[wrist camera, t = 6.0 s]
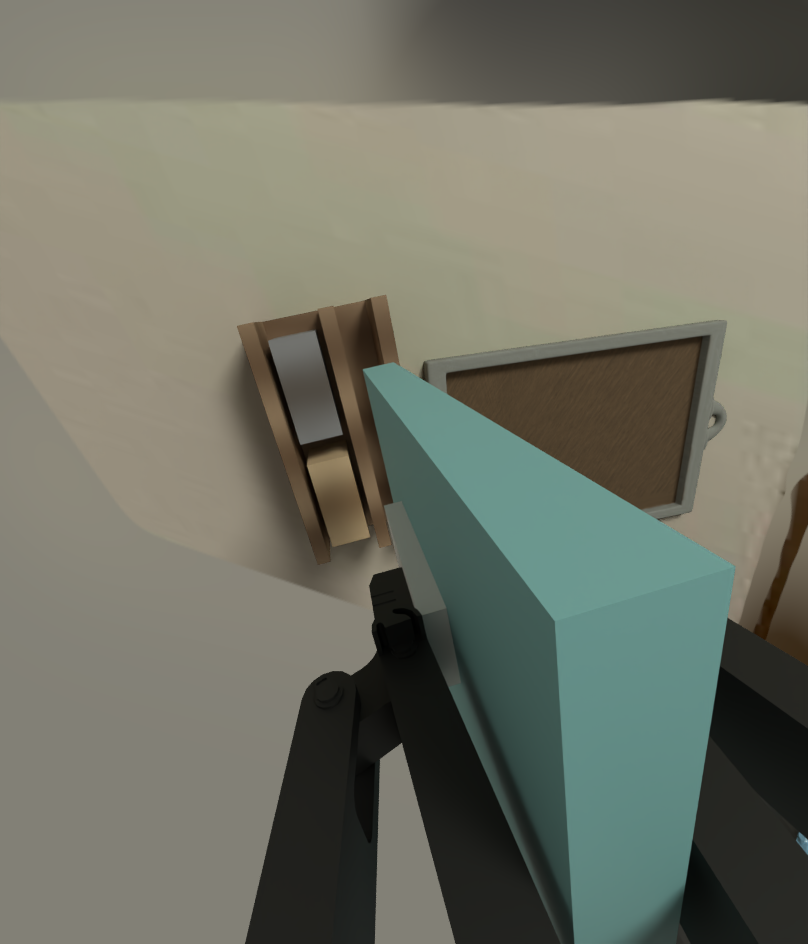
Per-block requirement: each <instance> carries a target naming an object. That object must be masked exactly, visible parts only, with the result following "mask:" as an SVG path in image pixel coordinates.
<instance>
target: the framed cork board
mask: <svg viewBox="0 0 808 944" xmlns="http://www.w3.org/2000/svg"><path fill="white" fill-rule="evenodd" d="M726 326H727V321H725V320H714V321H706V322H699V323H692V324H684V325H677V326H670V327H663V328H656V329H648V330H641V331H634V332H627V333H620V334H612V335H605V336H598V337H591V338H584V339H576V340H569V341H562V342H555V343H548V344H540V345H533V346H526V347H519V348H512V349H504V350H497V351H490V352H483V353H476V354H468V355H461V356H454V357H447V358H440V359H433V360H427V361H424V376H425V381H426V382H427V383H429V384H431V385H433V386H434V387H436V388H438V389H439V390H441V391H443V392H444V393H446V394H448V395H449V396H451V397H453V398H454V399H456V400H458V401H459V402H461V403H463V404H464V405H466V406H468V407H469V408H471V409H473V410H474V411H476V412H478V413H479V414H481V415H483V416H484V417H486V418H488V419H489V420H491V421H493V422H494V423H496V424H498V425H499V426H501V427H503V428H505V429H506V430H508V431H510V432H511V433H513V434H515V435H516V436H518V437H520V438H521V439H523V440H525V441H526V442H528V443H530V444H531V445H533V446H535V447H536V448H538V449H540V450H541V451H543V452H545V453H546V454H548V455H550V456H551V457H553V458H555V459H556V460H558V461H560V462H561V463H563V464H565V465H566V466H568V467H570V468H571V469H573V470H575V471H577V472H578V473H580V474H582V475H583V476H585V477H587V478H588V479H590V480H592V481H593V482H595V483H597V484H598V485H600V486H602V487H603V488H605V489H607V490H608V491H610V492H612V493H613V494H615V495H617V496H618V497H620V498H622V499H623V500H625V501H627V502H628V503H630V504H632V505H633V506H635V507H637V508H638V509H640V510H642V511H643V512H645V513H647V514H648V515H650V516H652V517H654V518H655V519H661V518H665V517H670V516H675V515H680V514H684V513H689V512H691V511H692V509H693V503H694V498H695V493H696V487H697V482H698V477H699V471H700V466H701V461H702V455H703V450H704V449H705V447H706V445H707V442H708V441H709V440H711V439H712V438H713V437H715V436H716V435H717V434H718V433H719V432H720V431H721V429H722V428H723V427H724V425H725V423H726V418H727V415H726V411H725V409H724V407H723V406H722V405H721V404H720V403H718V402H716V401H714V398H713V396H714V391H715V385H716V380H717V375H718V369H719V364H720V359H721V353H722V348H723V342H724V337H725V332H726ZM712 415H716V422H715V424H714V425H713V426H712V427H710V428H708V423H709V420H710V418H711V416H712Z"/></svg>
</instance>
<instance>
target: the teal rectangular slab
mask: <svg viewBox="0 0 808 944" xmlns="http://www.w3.org/2000/svg"><path fill="white" fill-rule="evenodd" d="M363 374H364V378H365V382H366V386H367V391H368V395H369V399H370V404H371V408H372V412H373V417H374V421H375V425H376V430H377V434H378V438H379V443H380V447H381V451H382V456H383V460H384V464H385V469H386V473H387V477H388V482H389V486H390V490H391V495H392V499H393V503H396V502H400V501H402V503H403V506H404V508H405V510H406V513H407V515H408V518H409V520H410V522H411V525H412V527H413V530H414V532H415V534H416V537H417V539H418V541H419V544H420V546H421V549H422V551H423V553H424V556H425V558H426V561H427V563H428V565H429V568H430V570H431V572H432V575H433V577H434V580H435V582H436V584H437V587H438V589H439V592H440V594H441V596H442V599H443V601H444V603H445V606H446V608H447V613H448V619H449V624H450V629H451V634H452V639H453V644H454V649H455V654H456V660H457V665H458V670H459V675H460V680H461V683H459V684H456V685H453V686H450V687H449V690H450V692H451V694H452V696H453V699H454V701H455V703H456V705H457V708H458V710H459V712H460V715H461V717H462V719H463V721H464V724H465V726H466V728H467V731H468V733H469V735H470V737H471V740H472V742H473V744H474V747H475V749H476V751H477V753H478V756H479V758H480V760H481V763H482V765H483V767H484V769H485V772H486V774H487V776H488V779H489V781H490V783H491V785H492V788H493V790H494V792H495V795H496V797H497V799H498V801H499V804H500V806H501V808H502V810H503V813H504V815H505V817H506V820H507V822H508V824H509V826H510V829H511V831H512V833H513V836H514V838H515V840H516V842H517V845H518V847H519V849H520V852H521V854H522V856H523V858H524V861H525V863H526V865H527V868H528V870H529V872H530V874H531V877H532V879H533V881H534V884H535V886H536V888H537V890H538V893H539V895H540V897H541V900H542V902H543V904H544V906H545V909H546V911H547V913H548V916H549V918H550V920H551V922H552V925H553V927H554V929H555V931H556V934H557V936H558V938H559V941H560V943H561V944H676V940H677V934H678V928H679V921H680V915H681V909H682V902H683V896H684V890H685V883H686V877H687V871H688V864H689V858H690V852H691V845H692V839H693V833H694V826H695V820H696V814H697V807H698V801H699V795H700V788H701V782H702V775H703V769H704V763H705V756H706V750H707V744H708V737H709V731H710V725H711V718H712V712H713V706H714V699H715V693H716V687H717V680H718V674H719V668H720V661H721V655H722V649H723V642H724V636H725V630H726V623H727V617H728V611H729V604H730V598H731V592H732V585H733V579H734V573H735V566H734V565H732V564H731V563H729V562H727V561H726V560H724V559H722V558H720V557H719V556H717V555H715V554H714V553H712V552H710V551H709V550H707V549H705V548H704V547H702V546H700V545H699V544H697V543H695V542H694V541H692V540H690V539H689V538H687V537H685V536H684V535H682V534H680V533H679V532H677V531H675V530H674V529H672V528H670V527H669V526H667V525H665V524H664V523H662V522H660V521H659V520H657V519H655V518H654V517H652V516H650V515H648V514H647V513H645V512H643V511H642V510H640V509H638V508H637V507H635V506H633V505H632V504H630V503H628V502H627V501H625V500H623V499H622V498H620V497H618V496H617V495H615V494H613V493H612V492H610V491H608V490H607V489H605V488H603V487H602V486H600V485H598V484H597V483H595V482H593V481H592V480H590V479H588V478H587V477H585V476H583V475H582V474H580V473H578V472H577V471H575V470H573V469H571V468H570V467H568V466H566V465H565V464H563V463H561V462H560V461H558V460H556V459H555V458H553V457H551V456H550V455H548V454H546V453H545V452H543V451H541V450H540V449H538V448H536V447H535V446H533V445H531V444H530V443H528V442H526V441H525V440H523V439H521V438H520V437H518V436H516V435H515V434H513V433H511V432H510V431H508V430H506V429H505V428H503V427H501V426H499V425H498V424H496V423H494V422H493V421H491V420H489V419H488V418H486V417H484V416H483V415H481V414H479V413H478V412H476V411H474V410H473V409H471V408H469V407H468V406H466V405H464V404H463V403H461V402H459V401H458V400H456V399H454V398H453V397H451V396H449V395H448V394H446V393H444V392H443V391H441V390H439V389H438V388H436V387H434V386H433V385H431V384H429V383H427V382H426V381H424V380H422V379H421V378H419V377H417V376H416V375H414V374H412V373H411V372H409V371H407V370H406V369H404V368H402V367H401V366H399V365H397V364H396V363H394V362H392V363H388V364H384V365H379V366H375V367H370V368H366V369H363Z"/></svg>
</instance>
